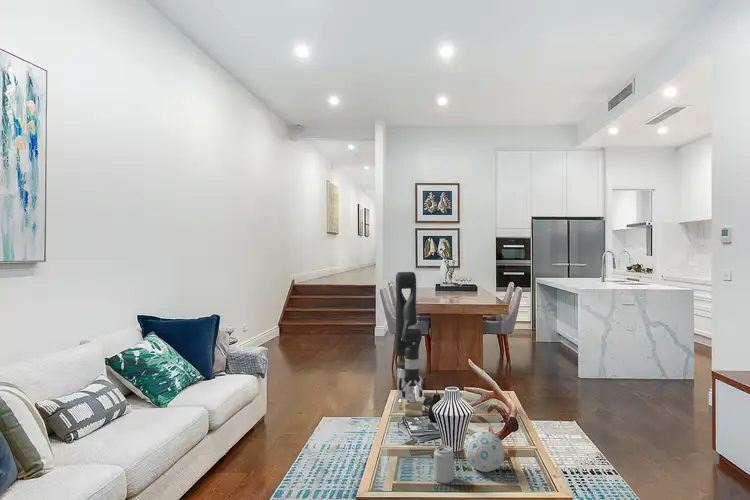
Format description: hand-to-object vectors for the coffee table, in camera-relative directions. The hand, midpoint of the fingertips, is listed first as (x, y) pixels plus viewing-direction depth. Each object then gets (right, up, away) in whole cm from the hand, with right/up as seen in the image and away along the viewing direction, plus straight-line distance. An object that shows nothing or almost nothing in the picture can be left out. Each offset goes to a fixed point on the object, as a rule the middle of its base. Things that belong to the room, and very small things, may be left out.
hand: (412, 397), depth 273 cm
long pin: (0, -8, 0) cm, 8 cm away
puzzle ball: (+24, -9, -69) cm, 73 cm away
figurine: (+4, -8, +17) cm, 19 cm away
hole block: (0, -8, 0) cm, 8 cm away
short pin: (-5, -8, +7) cm, 12 cm away
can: (+7, -10, -77) cm, 78 cm away
